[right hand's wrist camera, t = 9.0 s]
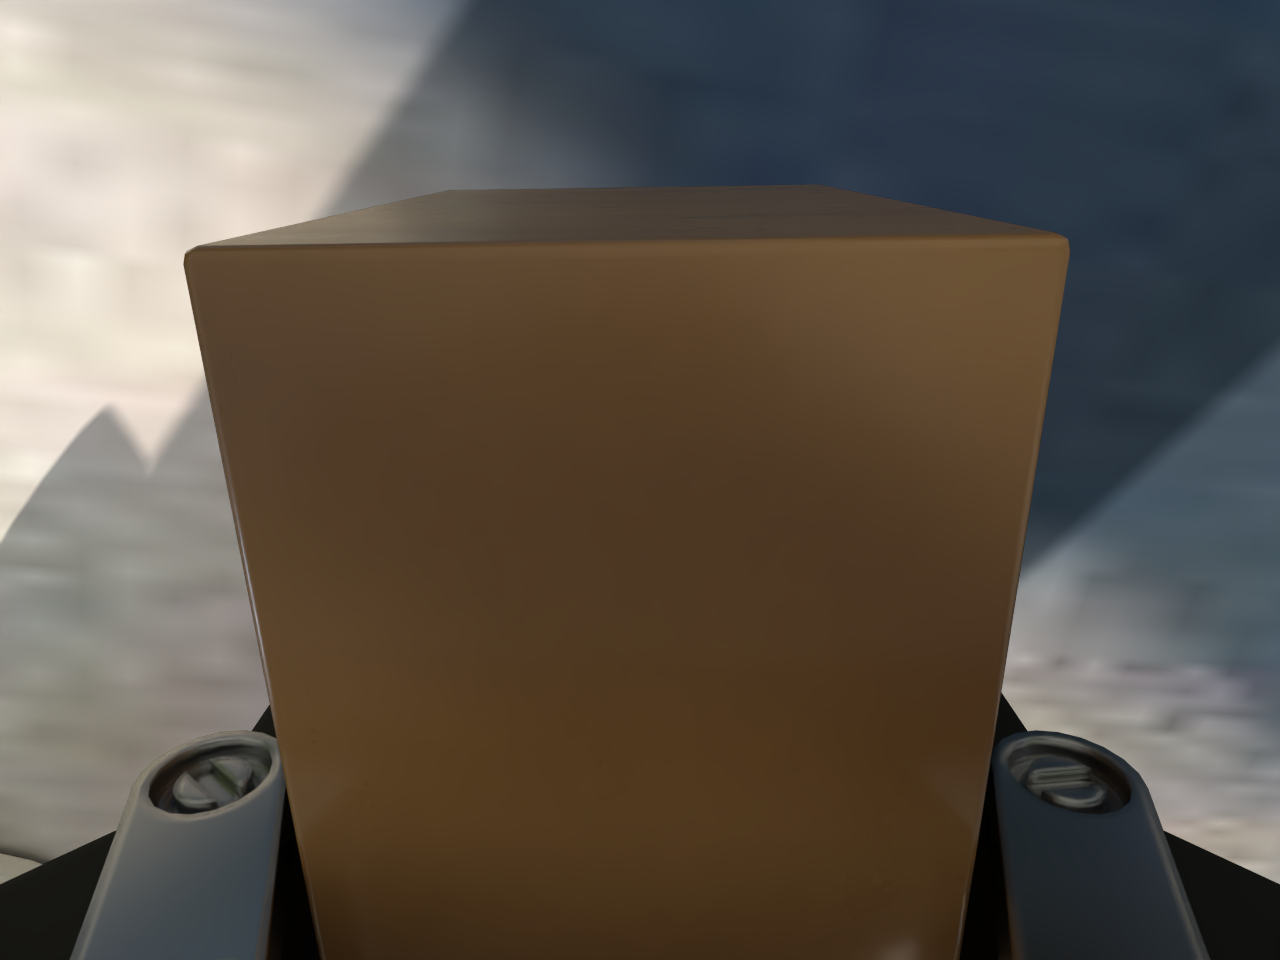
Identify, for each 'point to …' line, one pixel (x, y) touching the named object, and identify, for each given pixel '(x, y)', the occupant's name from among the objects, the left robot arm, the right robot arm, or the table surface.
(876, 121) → the table surface
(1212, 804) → the table surface
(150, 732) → the table surface
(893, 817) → the post
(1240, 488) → the table surface
